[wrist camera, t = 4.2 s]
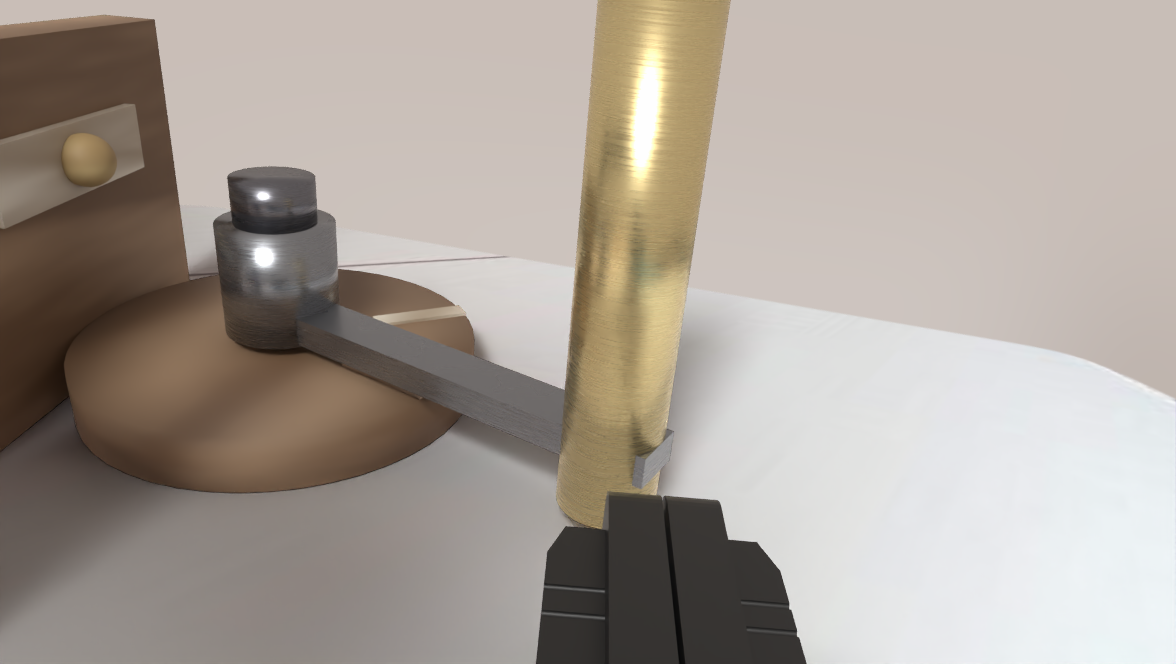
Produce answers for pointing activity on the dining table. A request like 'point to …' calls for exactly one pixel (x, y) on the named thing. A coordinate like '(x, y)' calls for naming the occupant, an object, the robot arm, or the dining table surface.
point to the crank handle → (602, 271)
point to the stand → (163, 293)
